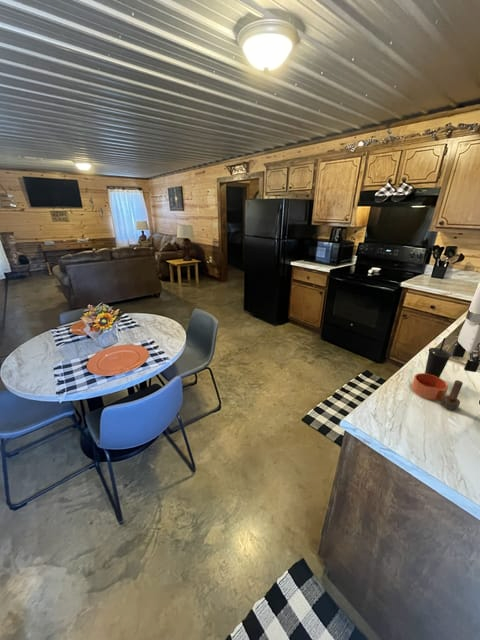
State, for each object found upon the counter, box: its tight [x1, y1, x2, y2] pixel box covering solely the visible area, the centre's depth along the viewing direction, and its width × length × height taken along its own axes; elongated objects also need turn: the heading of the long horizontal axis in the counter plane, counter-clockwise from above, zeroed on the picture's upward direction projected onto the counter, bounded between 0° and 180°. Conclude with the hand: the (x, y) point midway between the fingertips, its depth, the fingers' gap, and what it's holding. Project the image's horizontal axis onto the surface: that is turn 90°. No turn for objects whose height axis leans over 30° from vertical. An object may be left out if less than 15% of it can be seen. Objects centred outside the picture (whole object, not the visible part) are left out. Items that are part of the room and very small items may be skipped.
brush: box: [441, 379, 464, 412], centre depth 95 cm, size 5×5×11 cm
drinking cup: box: [424, 337, 452, 378], centre depth 109 cm, size 8×8×20 cm
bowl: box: [411, 372, 449, 402], centre depth 105 cm, size 11×11×5 cm
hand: (463, 363), depth 91 cm, fingers open, 9 cm apart
